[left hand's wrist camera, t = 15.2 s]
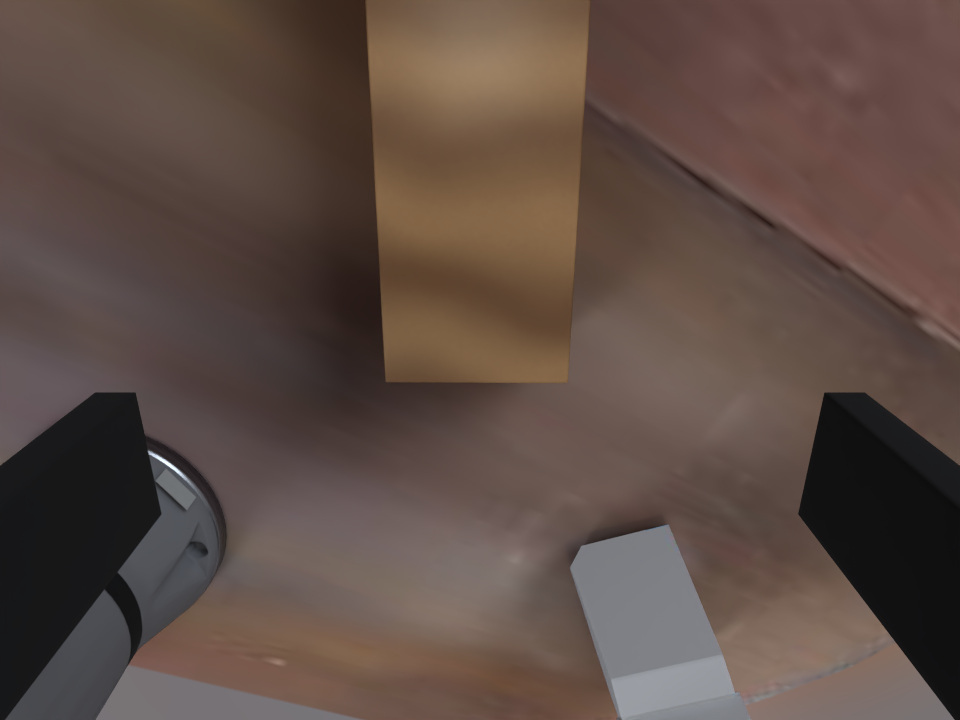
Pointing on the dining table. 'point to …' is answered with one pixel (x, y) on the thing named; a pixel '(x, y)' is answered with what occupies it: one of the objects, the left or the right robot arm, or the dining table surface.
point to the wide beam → (477, 184)
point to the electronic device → (653, 631)
